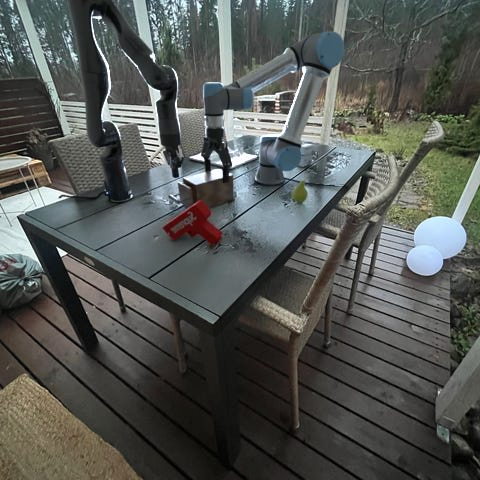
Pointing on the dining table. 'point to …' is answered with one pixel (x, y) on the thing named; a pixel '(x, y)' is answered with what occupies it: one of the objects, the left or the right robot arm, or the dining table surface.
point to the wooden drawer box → (211, 187)
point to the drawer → (185, 194)
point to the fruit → (300, 192)
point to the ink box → (306, 154)
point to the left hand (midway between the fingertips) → (176, 177)
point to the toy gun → (194, 224)
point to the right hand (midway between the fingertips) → (216, 178)
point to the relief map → (236, 157)
